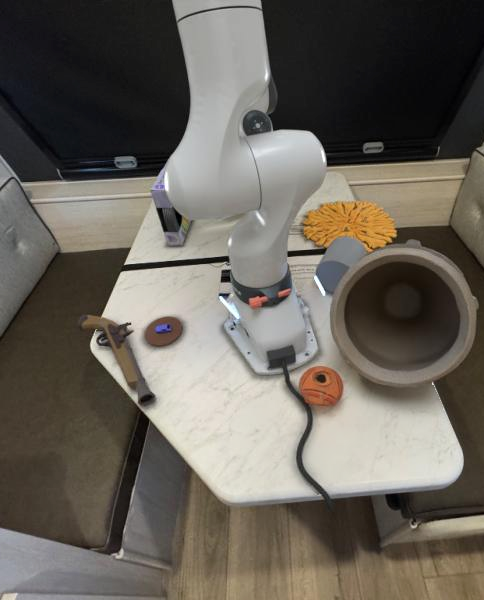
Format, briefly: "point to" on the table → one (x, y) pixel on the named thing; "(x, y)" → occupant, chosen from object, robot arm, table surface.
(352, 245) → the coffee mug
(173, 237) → the cake pan box
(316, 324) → the table surface
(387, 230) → the coral
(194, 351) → the table surface
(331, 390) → the pot
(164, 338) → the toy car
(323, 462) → the table surface
